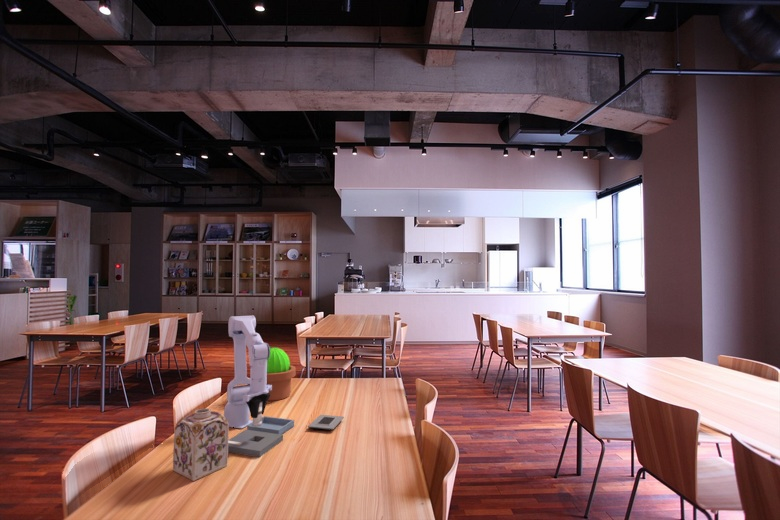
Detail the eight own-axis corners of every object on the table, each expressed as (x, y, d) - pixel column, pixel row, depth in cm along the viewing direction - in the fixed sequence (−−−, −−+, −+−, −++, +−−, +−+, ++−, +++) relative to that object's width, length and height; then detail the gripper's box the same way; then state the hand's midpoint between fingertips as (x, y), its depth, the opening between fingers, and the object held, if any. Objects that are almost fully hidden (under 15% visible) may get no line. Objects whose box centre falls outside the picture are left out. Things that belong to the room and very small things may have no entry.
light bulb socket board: (219, 450, 131) (220, 444, 131) (246, 434, 144) (246, 428, 144) (259, 457, 126) (259, 450, 126) (282, 440, 140) (283, 434, 140)
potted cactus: (288, 403, 181) (289, 350, 182) (242, 402, 182) (244, 350, 183) (299, 389, 203) (300, 343, 204) (259, 389, 203) (260, 342, 205)
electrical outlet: (333, 434, 147) (333, 427, 147) (307, 431, 149) (307, 425, 149) (343, 421, 160) (343, 415, 160) (320, 419, 162) (320, 413, 162)
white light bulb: (250, 426, 135) (251, 403, 136) (256, 422, 138) (256, 400, 139) (258, 427, 134) (258, 404, 135) (263, 423, 137) (264, 401, 138)
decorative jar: (192, 482, 110) (195, 419, 111) (171, 471, 116) (173, 412, 117) (229, 465, 120) (231, 408, 121) (207, 456, 127) (209, 401, 127)
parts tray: (247, 432, 146) (247, 425, 146) (264, 422, 157) (264, 416, 157) (278, 437, 142) (278, 430, 143) (294, 426, 153) (294, 420, 153)
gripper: (255, 383, 129) (254, 424, 128) (279, 373, 143) (278, 410, 142) (238, 382, 131) (236, 422, 130) (263, 372, 145) (262, 408, 144)
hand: (257, 415), depth 136 cm, fingers closed on white light bulb, 3 cm apart
